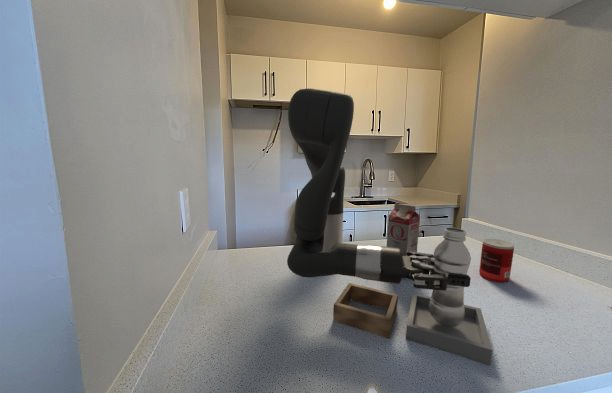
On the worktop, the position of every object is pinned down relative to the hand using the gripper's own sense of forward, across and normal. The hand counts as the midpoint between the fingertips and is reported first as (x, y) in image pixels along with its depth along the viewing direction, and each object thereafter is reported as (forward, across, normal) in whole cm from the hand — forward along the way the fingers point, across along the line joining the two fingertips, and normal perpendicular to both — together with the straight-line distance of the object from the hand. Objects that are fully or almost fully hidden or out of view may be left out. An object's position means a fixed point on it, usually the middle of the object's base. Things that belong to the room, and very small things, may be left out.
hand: (463, 273), depth 52 cm
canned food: (+19, -31, -13) cm, 39 cm away
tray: (-2, 0, -13) cm, 13 cm away
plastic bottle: (-2, 0, -11) cm, 11 cm away
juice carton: (-9, -26, -13) cm, 31 cm away
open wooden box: (-19, 0, -13) cm, 23 cm away
